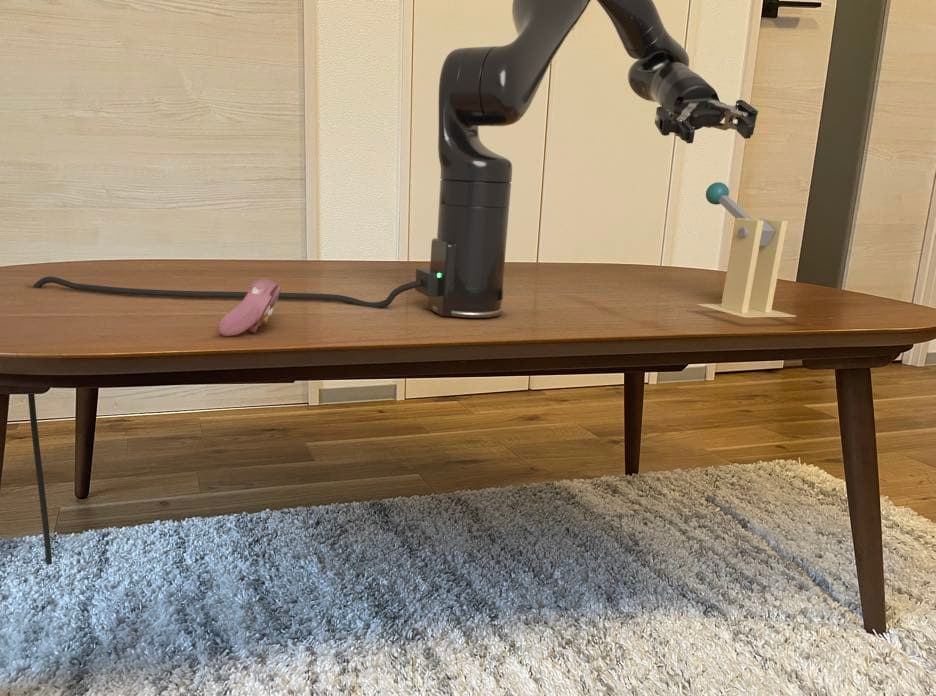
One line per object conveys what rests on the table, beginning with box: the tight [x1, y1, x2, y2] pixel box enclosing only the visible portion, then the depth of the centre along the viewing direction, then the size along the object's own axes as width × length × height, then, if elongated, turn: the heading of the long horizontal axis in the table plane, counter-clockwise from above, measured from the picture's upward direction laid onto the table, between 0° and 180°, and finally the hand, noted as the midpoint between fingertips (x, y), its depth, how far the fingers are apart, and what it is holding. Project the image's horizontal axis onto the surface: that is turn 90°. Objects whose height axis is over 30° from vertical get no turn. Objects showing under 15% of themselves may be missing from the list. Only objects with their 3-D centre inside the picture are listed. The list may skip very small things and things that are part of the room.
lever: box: [705, 181, 775, 246], centre depth 111 cm, size 14×3×3 cm, turn 16°
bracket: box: [696, 218, 796, 318], centre depth 109 cm, size 10×9×14 cm
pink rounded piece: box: [217, 278, 282, 337], centre depth 89 cm, size 10×5×7 cm, turn 179°
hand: (720, 134), depth 115 cm, fingers open, 8 cm apart
